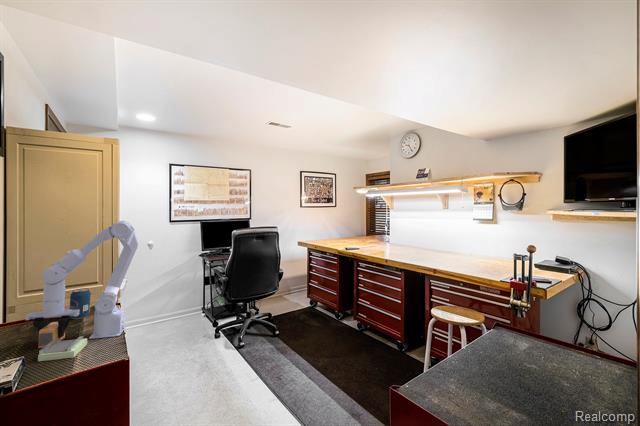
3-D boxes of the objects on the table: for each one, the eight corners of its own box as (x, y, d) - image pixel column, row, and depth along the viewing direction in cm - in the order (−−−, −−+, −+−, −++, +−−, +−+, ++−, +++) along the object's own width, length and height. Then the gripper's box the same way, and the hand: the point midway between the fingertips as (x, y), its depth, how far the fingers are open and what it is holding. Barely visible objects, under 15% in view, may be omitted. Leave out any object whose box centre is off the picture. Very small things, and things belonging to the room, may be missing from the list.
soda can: (65, 318, 123) (66, 291, 123) (82, 313, 129) (83, 287, 130) (76, 320, 121) (77, 292, 121) (93, 315, 127) (94, 288, 128)
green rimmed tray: (87, 343, 100) (87, 334, 100) (73, 357, 91) (74, 347, 91) (55, 347, 97) (55, 337, 97) (37, 361, 87) (38, 351, 88)
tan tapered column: (64, 337, 105) (65, 321, 105) (52, 347, 97) (52, 330, 97) (51, 338, 104) (51, 322, 104) (37, 349, 95) (38, 331, 96)
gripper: (83, 295, 107) (82, 331, 107) (34, 297, 102) (33, 335, 102) (75, 300, 100) (73, 338, 100) (22, 303, 95) (20, 343, 95)
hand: (52, 337), depth 101 cm, fingers open, 4 cm apart
